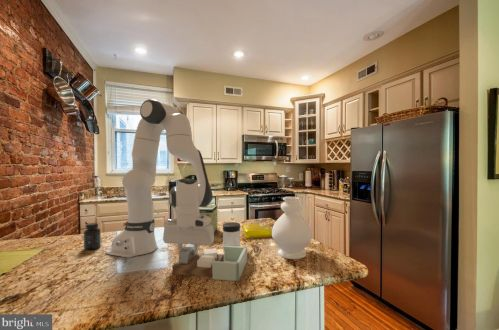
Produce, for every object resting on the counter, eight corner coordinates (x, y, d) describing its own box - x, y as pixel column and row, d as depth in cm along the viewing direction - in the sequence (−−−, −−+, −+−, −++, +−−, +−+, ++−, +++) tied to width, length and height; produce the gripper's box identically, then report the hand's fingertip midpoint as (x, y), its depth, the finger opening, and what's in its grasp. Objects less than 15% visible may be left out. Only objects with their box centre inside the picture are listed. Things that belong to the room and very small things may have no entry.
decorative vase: (298, 244, 113) (297, 194, 113) (321, 257, 96) (320, 199, 96) (265, 249, 107) (264, 196, 107) (283, 264, 90) (283, 202, 90)
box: (212, 279, 80) (212, 262, 80) (224, 260, 95) (224, 245, 95) (238, 281, 78) (238, 263, 78) (247, 261, 94) (246, 247, 94)
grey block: (178, 263, 85) (178, 251, 85) (190, 252, 95) (189, 242, 95) (187, 263, 85) (187, 251, 84) (198, 253, 94) (197, 242, 94)
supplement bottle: (80, 251, 108) (80, 225, 108) (90, 245, 115) (89, 222, 115) (95, 250, 108) (94, 225, 108) (103, 245, 115) (103, 222, 115)
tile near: (197, 266, 83) (197, 260, 83) (202, 261, 88) (202, 255, 88) (210, 267, 82) (210, 261, 82) (214, 261, 87) (214, 256, 87)
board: (172, 274, 84) (172, 266, 84) (187, 259, 97) (187, 252, 97) (213, 277, 81) (213, 268, 81) (223, 261, 94) (223, 254, 94)
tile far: (204, 259, 89) (204, 253, 89) (204, 254, 94) (204, 249, 94) (216, 258, 90) (216, 252, 90) (216, 253, 95) (216, 248, 95)
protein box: (194, 237, 126) (193, 209, 126) (201, 229, 141) (200, 204, 141) (212, 237, 125) (212, 209, 125) (217, 229, 141) (217, 204, 141)
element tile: (242, 231, 138) (242, 223, 138) (267, 229, 140) (266, 222, 140) (245, 239, 123) (245, 230, 123) (272, 237, 125) (272, 229, 125)
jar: (227, 254, 101) (227, 227, 101) (219, 249, 108) (219, 223, 108) (244, 250, 106) (244, 224, 106) (235, 245, 113) (235, 221, 113)
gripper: (159, 220, 88) (160, 256, 88) (209, 222, 85) (210, 259, 85) (168, 217, 94) (168, 250, 94) (215, 218, 91) (215, 252, 91)
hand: (188, 254), depth 90 cm, fingers closed on grey block, 3 cm apart
